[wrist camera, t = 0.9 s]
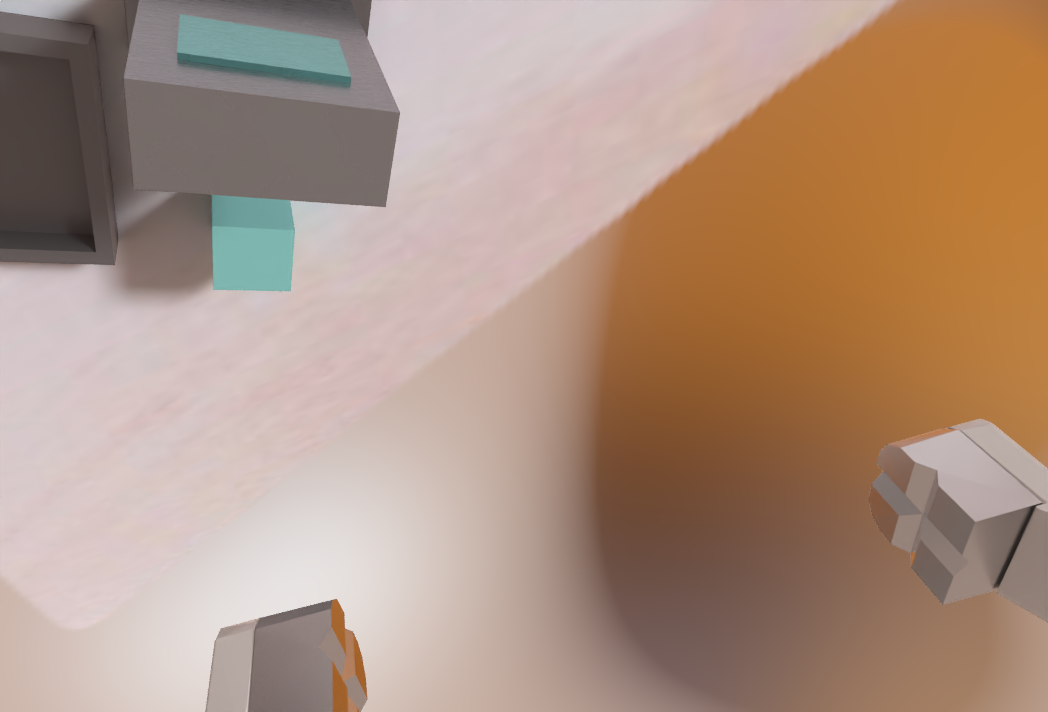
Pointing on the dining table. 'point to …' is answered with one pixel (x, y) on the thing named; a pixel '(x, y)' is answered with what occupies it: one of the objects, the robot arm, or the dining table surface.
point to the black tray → (53, 145)
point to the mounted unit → (258, 100)
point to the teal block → (252, 243)
